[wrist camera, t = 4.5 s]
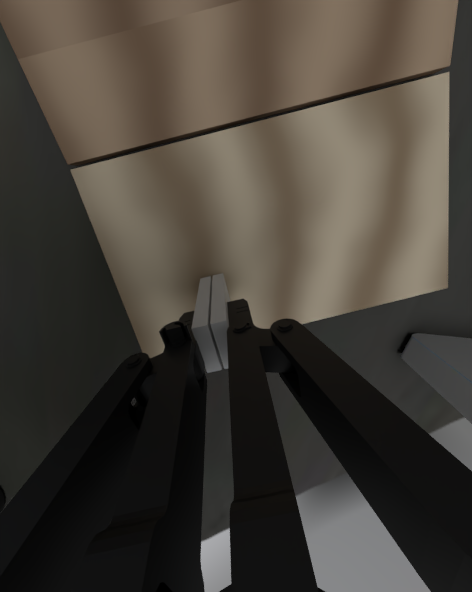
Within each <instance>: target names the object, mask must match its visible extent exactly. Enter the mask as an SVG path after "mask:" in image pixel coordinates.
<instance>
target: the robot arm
mask: <svg viewBox="0 0 472 592" xmlns="http://www.w3.org/2000/svg"><path fill="white" fill-rule="evenodd" d="M159 333H160V336H161V338H162V340H163V343H164V345H165V348H164V351H163V353H161V354H159V355H157V356H154V357H152V358H149V356H148V354H146V353H138V354H134V355H132V356H130V357H129V358H127V359H126V360H125V361H124V362H123V363H122V364H121V365H120V366H119V367H118V369H117V370H116V371H115V372H114V374H113V375H112V376H111V377H110V378H109V380H108V381H107V382H106V383H105V385H104V386H103V387H102V388H101V390H100V391H99V392H98V393H97V395H96V396H95V397H94V398H93V400H92V401H91V402H90V403H89V405H88V406H87V407H86V408H85V410H84V411H83V412H82V413H81V414H80V416H79V417H78V418H77V419H76V421H75V422H74V423H73V424H72V426H71V427H70V428H69V429H68V431H67V432H66V433H65V434H64V436H63V437H62V438H61V439H60V441H59V442H58V443H57V444H56V446H55V447H54V448H53V449H52V450H51V452H50V453H49V454H48V455H47V457H46V458H45V459H44V460H43V462H42V463H41V464H40V465H39V467H38V468H37V469H36V470H35V472H34V473H33V474H32V475H31V477H30V478H29V479H28V480H27V482H26V483H25V484H24V485H23V486H22V488H21V489H20V490H19V491H18V493H17V494H16V495H15V496H14V498H13V499H12V500H11V501H10V503H9V504H8V505H7V506H6V508H5V509H4V510H3V511H2V509H3V507H4V504H5V499H4V495H3V493H2V491H1V489H0V513H1V511H2V513H1V514H0V592H204V582H203V577H202V571H201V562H200V553H201V552H200V551H201V526H202V500H203V473H204V446H205V420H206V393H207V378H206V375H205V373H204V368H206V370H207V373H210V372H214V371H219V370H222V363H223V366H224V369H227V368H228V371H229V393H230V414H231V435H232V457H233V478H234V501H233V502H232V504H231V508H230V544H231V545H230V547H231V579H232V580H231V581H232V584H231V585H229V586H228V587H226V588H224V589H223V590H221V591H220V592H325V591H323V590H321V589H320V588H318V587H317V583H316V579H315V575H314V572H313V567H312V563H311V559H310V555H309V550H308V546H307V542H306V538H305V534H304V530H303V526H302V521H301V517H300V513H299V509H298V505H297V501H296V497H295V493H294V489H293V485H292V481H291V477H290V473H289V469H288V465H287V460H286V456H285V452H284V448H283V444H282V440H281V436H280V431H279V427H278V423H277V419H276V415H275V411H274V406H273V402H272V398H271V394H270V390H269V386H268V382H267V377H266V373H265V372H278V373H279V375H280V377H281V378H282V380H283V381H284V383H285V384H286V386H287V387H288V388H289V390H290V391H291V393H292V394H293V396H294V397H295V398H296V400H297V401H298V403H299V404H300V406H301V407H302V408H303V410H304V411H305V413H306V414H307V416H308V417H309V418H310V420H311V421H312V423H313V424H314V426H315V427H316V429H317V430H318V431H319V433H320V434H321V436H322V437H323V439H324V440H325V441H326V443H327V444H328V446H329V447H330V449H331V450H332V451H333V453H334V454H335V456H336V457H337V459H338V460H339V461H340V463H341V464H342V466H343V467H344V469H345V470H346V471H347V473H348V474H349V476H350V477H351V479H352V480H353V482H354V483H355V484H356V486H357V487H358V489H359V490H360V492H361V493H362V494H363V496H364V497H365V499H366V500H367V501H368V503H369V504H370V506H371V507H372V509H373V510H374V512H375V513H376V514H377V516H378V517H379V519H380V520H381V522H382V523H383V524H384V526H385V527H386V529H387V530H388V532H389V533H390V535H391V536H392V537H393V539H394V540H395V542H396V543H397V545H398V546H399V547H400V549H401V550H402V552H403V553H404V555H405V556H406V557H407V559H408V560H409V562H410V563H411V564H412V566H413V567H414V569H415V570H416V572H417V573H418V575H419V576H420V577H421V579H422V580H423V581H424V583H425V584H426V585H427V587H428V588H429V589H430V591H431V592H472V471H471V470H469V469H468V468H467V467H466V466H465V465H464V464H462V463H461V462H460V461H459V460H458V459H457V458H456V457H454V456H453V455H452V454H451V453H450V452H448V451H447V450H446V449H445V448H444V447H443V446H442V445H441V444H439V443H438V442H437V441H436V440H435V439H434V438H432V437H431V436H430V435H429V434H428V433H427V432H426V431H424V430H423V429H422V428H421V427H420V426H419V425H417V424H416V423H415V422H414V421H413V420H412V419H410V418H409V417H408V416H407V415H406V414H405V413H404V412H402V411H401V410H400V409H399V408H398V407H397V406H395V405H394V404H393V403H392V402H391V401H390V400H388V399H387V398H386V397H385V396H384V395H383V394H381V393H380V392H379V391H378V390H377V389H376V388H375V387H373V386H372V385H371V384H370V383H369V382H368V381H366V380H365V379H364V378H363V377H362V376H361V375H359V374H358V373H357V372H356V371H355V370H354V369H353V368H351V367H350V366H349V365H348V364H347V363H346V362H344V361H343V360H342V359H341V358H340V357H339V356H337V355H336V354H335V353H334V352H333V351H332V350H330V349H329V348H328V347H327V346H326V345H325V344H324V343H322V342H321V341H320V340H319V339H318V338H317V337H315V336H314V335H313V334H312V333H311V332H310V331H308V330H307V329H306V328H305V327H304V326H303V325H302V324H300V323H299V322H298V321H296V320H294V319H287V318H286V319H280V320H277V321H275V322H274V323H273V324H272V325H271V327H270V329H262V328H258V327H256V326H255V325H254V324H253V321H252V317H251V313H250V309H249V305H248V302H247V301H246V300H245V299H239V300H234V301H230V297H229V293H228V290H227V286H226V282H225V278H224V275H223V273H221V274H217V275H213V278H212V279H211V276H208V277H204V278H200V283H199V289H198V294H197V300H196V305H195V311H190V312H186V313H184V314H183V315H182V316H181V317H180V318H179V321H174V322H171V323H169V324H167V325H165V326H164V327H163V328H161V330H160V331H159ZM134 397H135V399H136V400H137V402H136V404H135V405H134V406H132V405H131V403H130V402H131V401H132V399H133V398H134ZM110 522H111V523H110Z"/></svg>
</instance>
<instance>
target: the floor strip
mask: <svg viewBox="0 0 472 592" xmlns="http://www.w3.org/2000/svg"><path fill="white" fill-rule="evenodd" d="M457 6H458V0H0V22H1V24H2V26H3V29H4V31H5V33H6V35H7V37H8V39H9V41H10V43H11V45H12V48H13V50H14V52H15V54H16V56H17V58H18V60H19V62H20V64H21V67H22V69H23V71H24V73H25V75H26V77H27V79H28V81H29V84H30V86H31V88H32V90H33V92H34V94H35V96H36V98H37V100H38V103H39V105H40V107H41V109H42V111H43V113H44V115H45V117H46V119H47V122H48V124H49V126H50V128H51V130H52V132H53V134H54V136H55V138H56V141H57V143H58V145H59V147H60V149H61V151H62V153H63V155H64V158H65V160H66V162H67V164H68V165H76V166H78V165H82V164H86V163H89V162H93V161H97V160H101V159H105V158H109V157H113V156H116V155H120V154H124V153H128V152H132V151H136V150H140V149H144V148H147V147H151V146H155V145H159V144H163V143H167V142H171V141H175V140H178V139H182V138H186V137H190V136H194V135H198V134H202V133H205V132H209V131H213V130H217V129H221V128H225V127H229V126H233V125H236V124H240V123H244V122H248V121H252V120H256V119H260V118H264V117H267V116H271V115H275V114H279V113H283V112H287V111H291V110H294V109H298V108H302V107H306V106H310V105H314V104H318V103H322V102H325V101H329V100H333V99H337V98H341V97H345V96H349V95H353V94H356V93H360V92H364V91H368V90H372V89H376V88H380V87H383V86H387V85H391V84H395V83H399V82H403V81H407V80H411V79H414V78H418V77H422V76H426V75H430V74H434V73H436V72H438V71H440V70H442V69H444V68H446V67H448V66H450V62H451V54H452V46H453V38H454V30H455V22H456V14H457Z"/></svg>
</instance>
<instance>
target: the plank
mask: <svg viewBox="0 0 472 592" xmlns="http://www.w3.org/2000/svg"><path fill="white" fill-rule="evenodd" d="M71 173H72V175H73V178H74V180H75V183H76V185H77V188H78V190H79V193H80V196H81V198H82V201H83V203H84V206H85V208H86V211H87V213H88V216H89V218H90V221H91V223H92V226H93V228H94V231H95V233H96V236H97V238H98V241H99V244H100V246H101V249H102V251H103V254H104V256H105V259H106V261H107V264H108V266H109V269H110V271H111V274H112V276H113V279H114V281H115V284H116V286H117V289H118V292H119V294H120V297H121V299H122V302H123V304H124V307H125V309H126V312H127V314H128V317H129V319H130V322H131V324H132V327H133V329H134V332H135V334H136V337H137V340H138V342H139V345H140V347H141V350H142V352H143V353H146V354H148V356H149V358H152V357H154V356H157V355H159V354H161V353H163V351H164V348H165V345H164V343H163V340H162V338H161V336H160V333H159V331H160V330H161V328H163V327H164V326H165V325H167V324H169V323H171V322H174V321H179V318H180V317H181V316H182V315H183V314H184V313H186V312H190V311H195V305H196V300H197V294H198V289H199V283H200V278H204V277H208V276H211V279H212V278H213V275H217V274H221V273H223V275H224V278H225V282H226V286H227V290H228V293H229V297H230V301H234V300H239V299H245V300H246V301H247V302H248V305H249V309H250V313H251V317H252V321H253V324H254V325H255V326H256V327H258V328H262V329H270V327H271V325H272V324H273V323H274V322H275V321H277V320H280V319H286V318H287V319H294V320H296V321H298V322H299V323H300V324H304V323H308V322H312V321H317V320H321V319H325V318H329V317H333V316H337V315H341V314H345V313H349V312H353V311H357V310H361V309H365V308H369V307H373V306H377V305H381V304H385V303H389V302H393V301H397V300H401V299H405V298H409V297H413V296H417V295H421V294H425V293H429V292H433V291H437V290H442V289H446V288H448V193H449V72H447V73H443V74H439V75H436V76H432V77H428V78H424V79H420V80H416V81H412V82H408V83H405V84H401V85H397V86H393V87H389V88H385V89H381V90H377V91H374V92H370V93H366V94H362V95H358V96H354V97H350V98H346V99H343V100H339V101H335V102H331V103H327V104H323V105H319V106H316V107H312V108H308V109H304V110H300V111H296V112H292V113H288V114H285V115H281V116H277V117H273V118H269V119H265V120H261V121H257V122H254V123H250V124H246V125H242V126H238V127H234V128H230V129H226V130H223V131H219V132H215V133H211V134H207V135H203V136H199V137H196V138H192V139H188V140H184V141H180V142H176V143H172V144H168V145H165V146H161V147H157V148H153V149H149V150H145V151H141V152H137V153H134V154H130V155H126V156H122V157H118V158H114V159H110V160H106V161H103V162H99V163H95V164H91V165H87V166H83V167H79V168H76V169H72V170H71Z"/></svg>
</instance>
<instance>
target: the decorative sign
mask: <svg viewBox="0 0 472 592" xmlns="http://www.w3.org/2000/svg"><path fill="white" fill-rule="evenodd" d="M400 357H401V358H402V359H403V360H404V361H405V362H406V363H407V364H408V365H409V366H410V367H411V368H412V369H413V370H415V371H416V372H417V373H418V374H419V375H420V376H421V377H422V378H423V379H424V380H425V381H426V382H427V383H429V384H430V385H431V386H432V387H433V388H434V389H435V390H436V391H437V392H438V393H439V394H440V395H441V396H443V397H444V398H445V399H446V400H447V401H448V402H449V403H450V404H451V405H452V406H453V407H454V408H456V409H457V410H458V411H459V412H460V413H461V414H462V415H463V416H464V417H465V418H466V419H467V420H469V421H470V422H471V423H472V338H462V337H452V336H442V335H432V334H422V333H416V334H413V335H412V336H411V338H410V340H409V342H408V343H407V345H405V349H404V351H403V352H402V354H401V356H400Z"/></svg>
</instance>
